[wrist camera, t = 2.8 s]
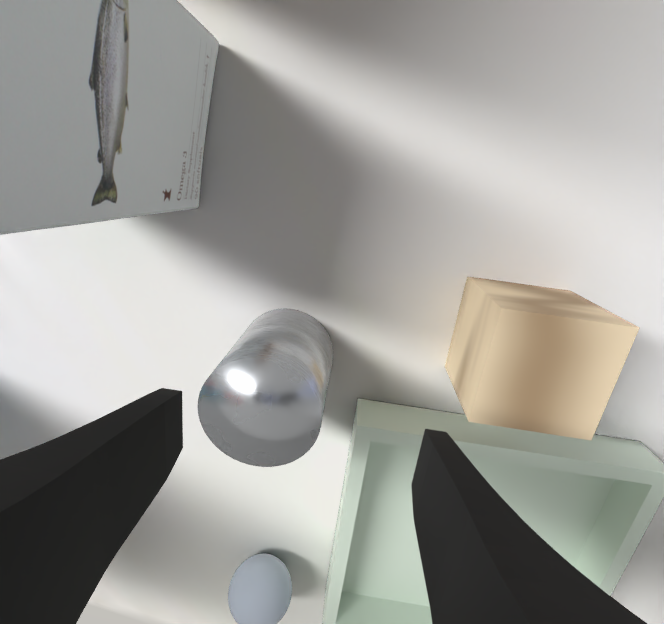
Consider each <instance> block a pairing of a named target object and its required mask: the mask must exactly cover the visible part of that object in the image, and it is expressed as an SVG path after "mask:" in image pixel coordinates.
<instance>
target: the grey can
mask: <svg viewBox="0 0 664 624" xmlns="http://www.w3.org/2000/svg"><path fill="white" fill-rule="evenodd" d="M332 361H333V346H332V342H331V339H330V337H329V335H328V333H327V331H326V330H325V328H324V327H323V326H322V325H321V324H320V323H319V322H318V321H317V320H316V319H315V318H313V317H312V316H310V315H308V314H306V313H304V312H301V311H298V310H294V309H276V310H272V311H268V312H266V313H264V314H262V315H261V316H259V317H258V318H256V319H255V320H254V321H253V322H252V324H251V325H250V326H249V327H248V328H247V330H246V331H245V332H244V333H243V335H242V336H241V337H240V339H239V340H238V341H237V342H236V344H235V345H234V346H233V347H232V349H231V350H230V351H229V352H228V354H227V355H226V356H225V357H224V359H223V360H222V361H221V362H220V364H219V365H218V366H217V367H216V369H215V370H214V371H213V372H212V374H211V375H210V376H209V378H208V379H207V380H206V382H205V383H204V385H203V387H202V389H201V391H200V394H199V399H198V414H199V419H200V422H201V425H202V427H203V429H204V431H205V433H206V435H207V436H208V438H209V439H210V440H211V441H212V443H213V444H214V445H215V446H216V447H217V448H219V449H220V450H221V451H222V452H224V453H225V454H226V455H228V456H230V457H231V458H233V459H235V460H238V461H240V462H243V463H246V464H249V465H254V466H262V467H272V466H280V465H284V464H287V463H290V462H293V461H294V460H296V459H298V458H300V457H301V456H303V455H304V454H305V453H306V452H307V451H308V450H310V448H311V447H312V446H313V445H314V443H315V441H316V439H317V437H318V435H319V432H320V427H321V422H322V416H323V411H324V405H325V400H326V394H327V389H328V383H329V377H330V372H331V366H332Z"/></svg>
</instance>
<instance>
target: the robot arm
mask: <svg viewBox="0 0 664 624" xmlns="http://www.w3.org/2000/svg"><path fill="white" fill-rule="evenodd" d="M182 448H183V433H182V391H177V390H171V389H164V388H161V389H159V390H157V391H154V392H152V393H150V394H148V395H146V396H144V397H142V398H140V399H138V400H136V401H134V402H132V403H130V404H128V405H126V406H124V407H122V408H120V409H118V410H116V411H114V412H111V413H109V414H107V415H105V416H103V417H101V418H99V419H97V420H95V421H93V422H91V423H89V424H86V425H84V426H82V427H80V428H78V429H75V430H73V431H71V432H69V433H67V434H64V435H62V436H60V437H58V438H55V439H53V440H51V441H48V442H46V443H44V444H41V445H39V446H36V447H34V448H31V449H29V450H26V451H23V452H20V453H18V454H15V455H12V456H10V457H7V458H4V459H1V460H0V624H76V622H77V621H78V619H79V617H80V615H81V613H82V612H83V609H84V608H85V606H86V604H87V603H88V601H89V599H90V597H91V596H92V594H93V592H94V590H95V588H96V587H97V585H98V583H99V581H100V579H101V578H102V576H103V574H104V572H105V571H106V569H107V568H108V566H109V564H110V563H111V561H112V560H113V558H114V556H115V555H116V553H117V552H118V550H119V549H120V547H121V546H122V544H123V543H124V542H125V540H126V539H127V537H128V536H129V534H130V533H131V531H132V530H133V528H134V527H135V525H136V524H137V523H138V521H139V520H140V518H141V517H142V515H143V514H144V512H145V511H146V509H147V508H148V506H149V505H150V504H151V502H152V501H153V499H154V498H155V496H156V495H157V493H158V492H159V490H160V489H161V487H162V486H163V484H164V483H165V481H166V480H167V478H168V476H169V474H170V472H171V470H172V468H173V466H174V465H175V462H176V460H177V458H178V456H179V454H180V452H181V450H182ZM411 486H412V503H413V517H414V524H415V530H416V535H417V541H418V546H419V551H420V557H421V562H422V567H423V573H424V578H425V583H426V588H427V594H428V599H429V604H430V610H431V617H432V624H647V623H646V622H644V621H643V620H641V619H640V618H639V617H637V616H636V615H635V614H633V613H632V612H630V611H629V610H628V609H626V608H625V607H624V606H622V605H621V604H620V603H619V602H617V601H616V600H615V599H613V598H612V597H611V596H609V595H608V594H607V593H606V592H604V591H603V590H602V589H601V588H599V587H598V586H597V585H596V584H594V583H593V582H592V581H591V580H590V579H588V578H587V577H586V576H585V575H583V574H582V573H581V572H580V571H578V570H577V569H576V568H575V567H574V566H572V565H571V564H570V563H569V562H568V561H567V560H565V559H564V558H563V557H562V556H561V555H560V554H559V553H557V552H556V551H555V550H554V549H553V548H552V547H551V546H550V545H549V544H548V543H547V542H546V541H544V540H543V539H542V538H541V537H540V536H539V535H538V534H537V533H536V532H535V531H534V530H533V529H532V528H531V527H530V526H529V525H528V524H527V523H525V522H524V521H523V520H522V519H521V517H520V516H519V515H518V514H517V513H516V512H515V511H514V510H513V509H512V508H511V507H510V506H509V505H508V504H507V503H506V502H505V501H504V500H503V499H502V497H501V496H500V495H499V494H498V493H497V492H496V491H495V490H494V489H493V487H492V486H491V485H490V484H489V483H488V482H487V481H486V479H485V478H484V477H483V476H482V475H481V474H480V472H479V471H478V470H477V469H476V468H475V466H474V465H473V464H472V463H471V461H470V460H469V459H468V458H467V457H466V455H465V454H464V453H463V452H462V450H461V449H460V448H459V447H458V445H457V444H456V443H455V442H454V440H453V439H452V438H451V437H450V436H449V434H448V433H447V432H444V431H437V430H431V429H425V431H424V435H423V439H422V443H421V447H420V451H419V455H418V459H417V464H416V468H415V472H414V476H413V480H412V484H411Z"/></svg>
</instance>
